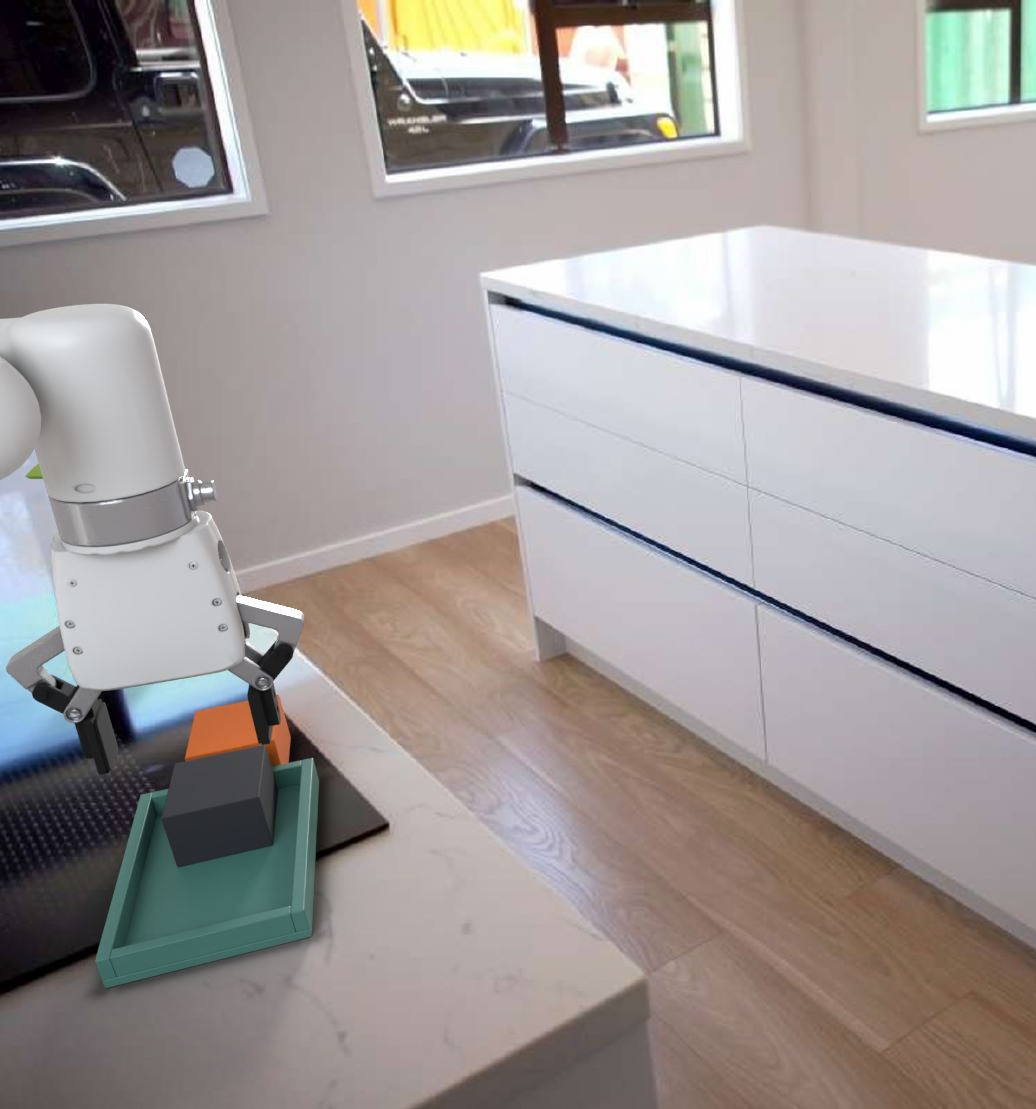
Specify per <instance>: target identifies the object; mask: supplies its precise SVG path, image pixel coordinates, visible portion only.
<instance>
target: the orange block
mask: <svg viewBox="0 0 1036 1109" xmlns="http://www.w3.org/2000/svg"><path fill="white" fill-rule="evenodd" d="M276 696H277V700H278V705H279V709H280V715H281V722H280V724H279V725H274V726H273V729H272V737H271V743H270V744H265V745H266V748H267V752H268V755H269V759H270V762H271V766H277V765H281V764H286V763H290V750H291V749H290V748H291V739H292V736H291V733H290V730H289V726H288V722H287V719H286V716H285V711H284V708H283V707H284V706H283V704H282V701H281V697H280V695H279V694H276ZM194 712H195V713H194V716H193V720H192V726H191V728H190V733H189V737H188V742H187V747H186V752H185V756H184V760H185V761H189V760H194V759H199V758H204V757H208V756H213V755H218V754H223V753H227V752H232V751H237V750H242V749H246V748H251V747H256V746H261V745H262V743H260V744H259V743H258V739H257V735H256V731H255V727H254V723H253V719H252V714H251V710H250V706H249V702H248V700H245V701H239V702H235V703H229V704H223V705H219V706H213V707H209V708H205V709H200V710H199V709H198V710H195V711H194ZM185 761H184V762H185Z"/></svg>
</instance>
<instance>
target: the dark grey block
mask: <svg viewBox="0 0 1036 1109" xmlns="http://www.w3.org/2000/svg"><path fill="white" fill-rule="evenodd" d="M167 789H168V793H167V797H166V801H165V805H164V810H163V814H162V818H161V820H162V823H163V826H164V829H165V832H166V835H167V838H168V841H169V844H170V847H171V850H172V853H173V856H174V859H175V862H176V865H177V867H182V866H187V865H191V864H195V863H200V862H204V861H208V860H213V859H217V858H221V857H225V856H230V855H234V854H238V853H243V852H247V851H251V850H256V849H260V848H264V847H269V846H272V845H273V840H274V830H275V820H276V810H277V800H278V787H277V783H276V780H275V776H274V773H273V769H272V766H271V762H270V759H269V755H268V752H267V748H266V745H261V746H256V747H251V748H246V749H242V750H237V751H232V752H227V753H223V754H218V755H213V756H208V757H204V758H199V759H194V760H189V761H180V762H175V763H174V764H173V768H172V773H171V777H170V781H169V785H168V788H167Z"/></svg>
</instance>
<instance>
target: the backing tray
mask: <svg viewBox="0 0 1036 1109" xmlns="http://www.w3.org/2000/svg"><path fill="white" fill-rule="evenodd" d="M272 769H273V773H274V776H275V780H276V783H277V787H278V800H277V810H276V820H275V830H274V840H273V845H272V846H269V847H264V848H260V849H256V850H251V851H247V852H243V853H238V854H234V855H230V856H225V857H221V858H217V859H213V860H208V861H204V862H200V863H195V864H191V865H187V866H182V867H177V865H176V862H175V859H174V856H173V853H172V850H171V847H170V844H169V841H168V838H167V835H166V832H165V829H164V826H163V823H162V820H161V818H162V814H163V810H164V805H165V801H166V797H167V793H168V789H169V788H165V789H162V790H161V789H160V790H156V791H152V792H148V793H143V794H140V795H139V800H138V802H137V806H136V811H135V813H134V817H133V821H132V825H131V829H130V832H129V836H128V839H127V843H126V847H125V849H124V850H125V851H124V854H123V858H122V862H121V865H120V868H119V872H118V875H117V880H116V883H115V887H114V891H113V895H112V898H111V900H110V901H111V902H110V905H109V909H108V913H107V915H106V916H107V917H106V919H105V923H104V927H103V930H102V934H101V938H100V942H99V945H98V949H97V953H96V956H95V959H94V963H95V966H96V968H97V971H98V974H99V976H100V979H101V981H102V984H103V987H104V988H105V989H109V988H114V987H116V986H121V985H124V984H129V983H132V982H137V981H141V980H145V979H149V978H152V977H157V976H161V975H164V974H169V973H172V972H176V971H180V970H185V969H188V968H192V967H195V966H201V965H204V964H208V963H212V962H216V961H221V960H223V959H224V960H225V959H228V958H232V957H236V956H240V955H243V954H247V953H251V952H256V951H260V950H264V949H267V948H272V947H275V946H279V945H282V944H287V943H291V942H295V941H298V940H303V939H308V938H311V937H312V936H313V919H314V918H313V917H314V896H315V874H316V854H317V837H318V836H317V835H318V833H317V832H318V812H319V791H320V779H319V775H318V771H317V768H316V764H315V760H314V758H313V757H311V758H305V759H302V760H301V759H300V760H296V761H290V762H288V763H286V764H281V765H277V766H272Z"/></svg>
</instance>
